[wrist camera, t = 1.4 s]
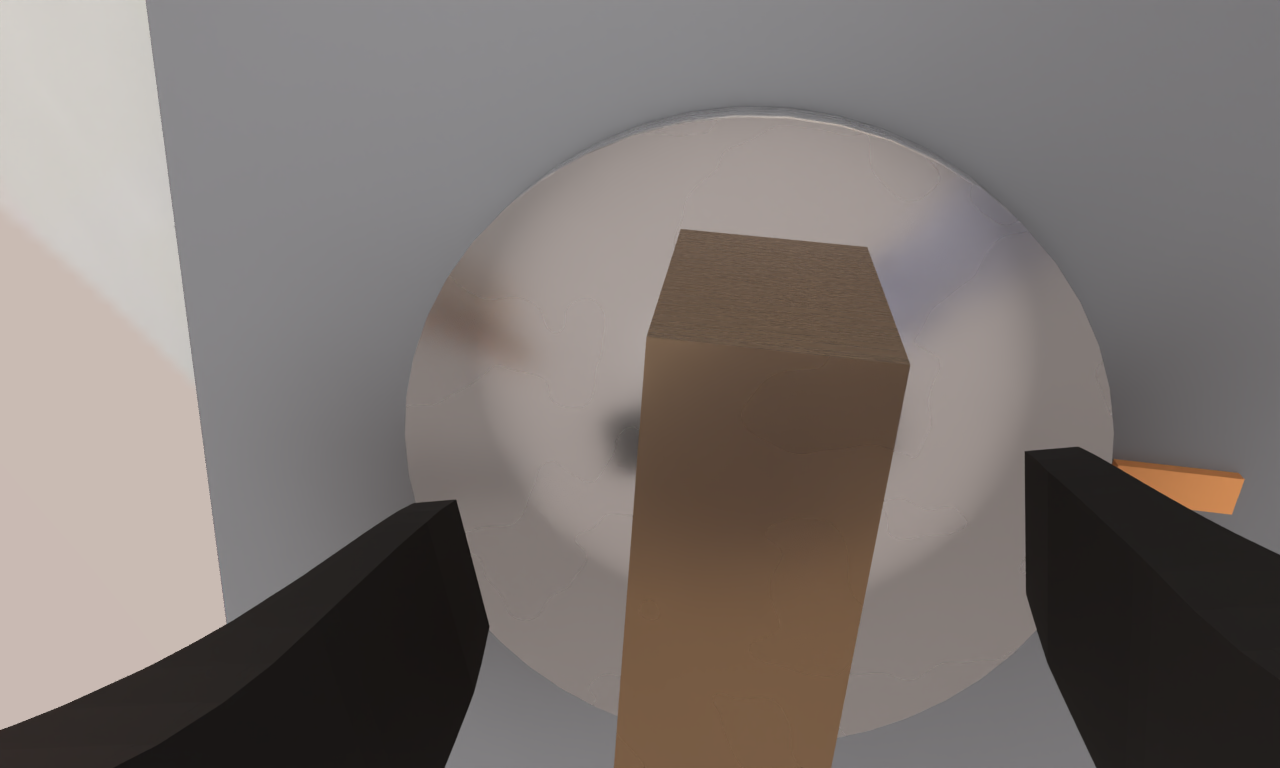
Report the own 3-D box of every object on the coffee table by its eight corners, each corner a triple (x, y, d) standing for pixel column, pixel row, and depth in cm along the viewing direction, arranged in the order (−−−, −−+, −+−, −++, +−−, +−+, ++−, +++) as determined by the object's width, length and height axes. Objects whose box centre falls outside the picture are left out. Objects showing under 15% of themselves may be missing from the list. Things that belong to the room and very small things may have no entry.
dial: (1178, 141, 12) (1421, 245, 8) (1005, 738, 16) (1098, 1036, 12) (418, 75, 13) (234, 134, 9) (432, 660, 17) (313, 911, 13)
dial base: (1513, -90, 12) (1620, -98, 11) (1160, 816, 19) (1194, 892, 17) (184, -178, 14) (111, -196, 12) (277, 693, 20) (237, 752, 19)
